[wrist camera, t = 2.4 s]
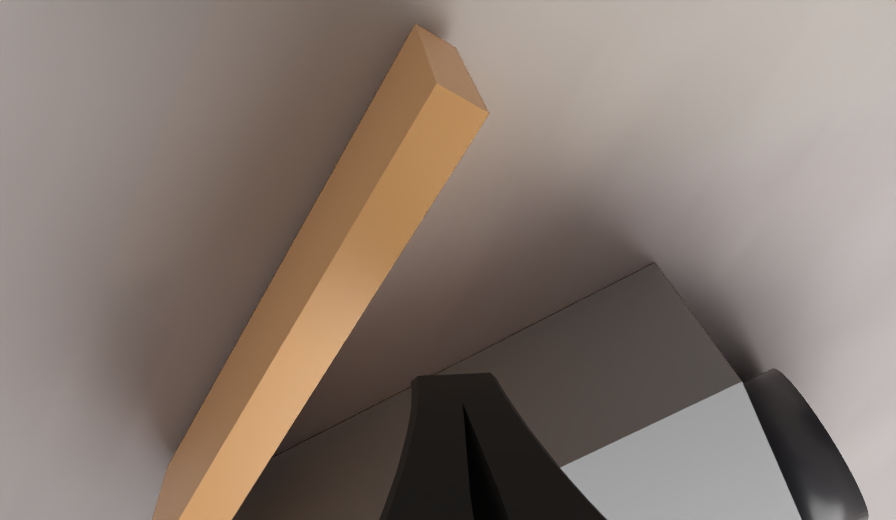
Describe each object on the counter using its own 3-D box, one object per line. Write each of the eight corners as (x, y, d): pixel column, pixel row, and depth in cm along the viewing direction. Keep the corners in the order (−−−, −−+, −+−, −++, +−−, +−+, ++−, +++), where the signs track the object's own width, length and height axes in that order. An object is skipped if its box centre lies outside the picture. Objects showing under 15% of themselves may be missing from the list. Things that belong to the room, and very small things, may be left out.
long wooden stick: (202, 476, 21) (167, 620, 17) (167, 466, 21) (124, 610, 17) (455, 47, 16) (489, 113, 12) (415, 23, 15) (436, 83, 11)
